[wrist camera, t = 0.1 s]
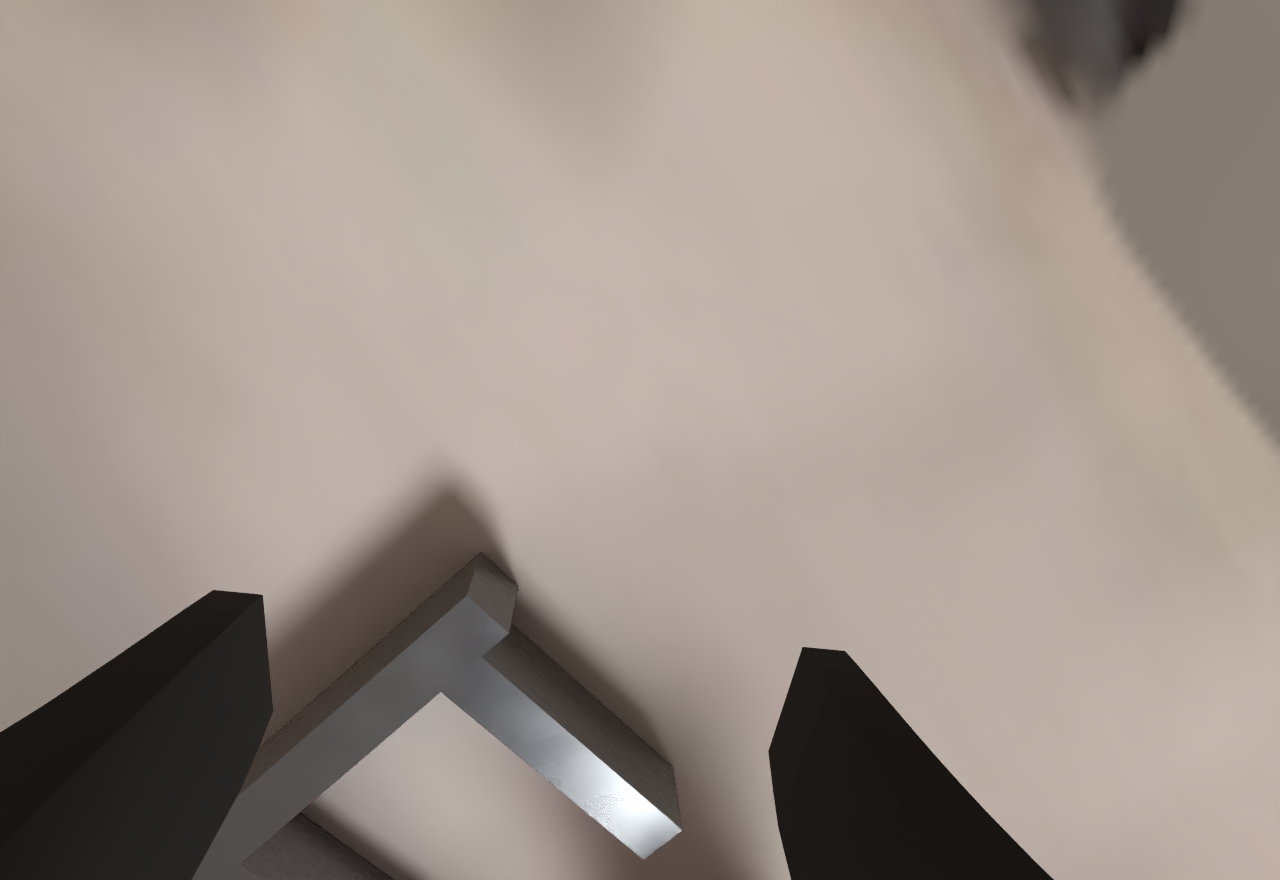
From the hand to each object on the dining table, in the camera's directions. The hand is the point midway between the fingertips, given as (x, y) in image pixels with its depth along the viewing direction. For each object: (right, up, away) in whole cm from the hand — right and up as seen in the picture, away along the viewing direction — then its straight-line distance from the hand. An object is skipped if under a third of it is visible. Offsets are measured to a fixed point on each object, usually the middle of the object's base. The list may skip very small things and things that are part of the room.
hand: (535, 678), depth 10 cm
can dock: (-4, -8, +13) cm, 16 cm away
